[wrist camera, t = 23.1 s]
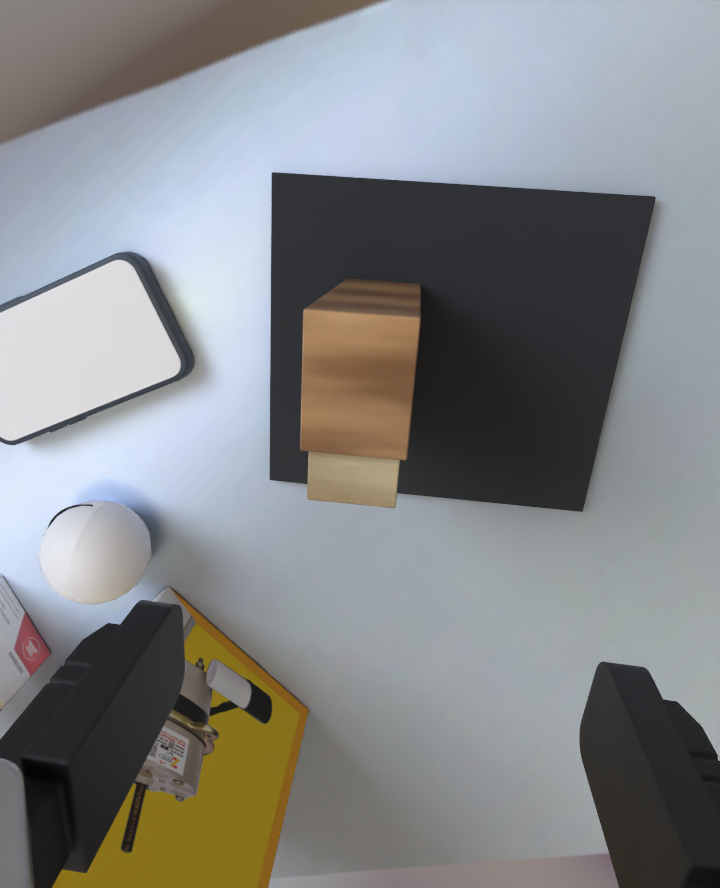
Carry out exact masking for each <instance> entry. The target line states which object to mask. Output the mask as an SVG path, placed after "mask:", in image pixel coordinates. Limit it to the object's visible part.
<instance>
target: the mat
mask: <svg viewBox="0 0 720 888" xmlns="http://www.w3.org/2000/svg"><path fill="white" fill-rule="evenodd" d="M654 203H655V197H651V196H635V195H619V194H604V193H588V192H572V191H556V190H541V189H525V188H509V187H494V186H478V185H462V184H446V183H431V182H415V181H399V180H383V179H368V178H352V177H336V176H321V175H305V174H289V173H272V233H271V377H270V480H276V481H286V482H296V483H306V484H308V452H309V451H301V450H300V432H301V390H302V347H303V311H304V309H305V308H307V307H308V306H309V305H311V304H312V303H314V302H315V301H316V300H318V299H319V298H321V297H322V296H323V295H325V294H326V293H328V292H329V291H330V290H332V289H333V288H335V287H336V286H337V285H339V284H340V283H342V282H343V281H344V280H346V279H362V280H376V281H390V282H404V283H418V284H421V323H420V333H419V343H418V354H417V364H416V374H415V384H414V394H413V404H412V415H411V425H410V435H409V445H408V455H407V460H400V464H399V475H398V486H397V493H404V494H414V495H424V496H433V497H443V498H453V499H463V500H473V501H482V502H492V503H502V504H512V505H522V506H532V507H541V508H551V509H561V510H571V511H581V512H582V511H583V507H584V503H585V499H586V494H587V490H588V486H589V481H590V477H591V473H592V468H593V464H594V460H595V456H596V451H597V447H598V443H599V438H600V434H601V430H602V426H603V421H604V417H605V413H606V408H607V404H608V400H609V396H610V391H611V387H612V383H613V378H614V374H615V370H616V366H617V361H618V357H619V353H620V348H621V344H622V340H623V336H624V331H625V327H626V323H627V318H628V314H629V310H630V305H631V301H632V297H633V293H634V288H635V284H636V280H637V275H638V271H639V267H640V263H641V258H642V254H643V250H644V245H645V241H646V237H647V233H648V228H649V224H650V220H651V215H652V211H653V207H654Z"/></svg>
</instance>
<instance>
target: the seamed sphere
mask: <svg viewBox="0 0 720 888" xmlns="http://www.w3.org/2000/svg"><path fill="white" fill-rule="evenodd" d="M151 554H152V553H151V542H150V534H149V531H148V529H147V527H146V525H145V523H144V522H143V521H142V519H141V518H140V517H139V516H138V515H137V514H136V513H135V512H134V511H132V510H131V509H129V508H128V507H127V506H124V505H122V504H119V503H116V502H112V501H93V500H92V501H88V502H84V503H79V504H77V505H74V506H71V507H68V508H66V509H64V510H62V511H60V512H59V513H58V514H57V515H56V516H54V518H53V519H52V520H51V522H50V524H49V526H48V528H47V531H46V532H45V534H44V535H43V538H42V543H41V548H40V553H39V563H40V569H41V571H42V573H43V575H44V577H45V579H46V581H47V583H48V584H49V585H50V587H51V588H52V589H53V590H54V591H55V592H56V593H58V594H59V595H61V596H62V597H64V598H67V599H69V600H72V601H75V602H78V603H82V604H92V605H93V604H98V603H104V602H108V601H111V600H115V599H117V598H119V597H121V596H122V595H124V594H126V593H127V592H128V591H130V590H131V589H132V588H133V587H134V586H136V585H137V583H138V582H139V581H140V579H141V578H142V577H143V576H144V574H145V572H146V569H147V567H148V565H149V561H150V558H151Z"/></svg>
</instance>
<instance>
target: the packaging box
mask: <svg viewBox="0 0 720 888" xmlns="http://www.w3.org/2000/svg"><path fill="white" fill-rule="evenodd" d="M151 601H155V602H162V603H170V604H178V605H180V606H181V608H182V613H183V630H184V650H185V675H184V681H183V685H182V688H181V692H180V694H179V697H178V699H177V701H176V703H175V705H174V707H173V709H172V711H171V713H170V715H169V717H168V718H167V720H166V722H165V724H164V726H163V728H162V730H161V732H160V734H159V736H158V738H157V739H156V741H155V743H154V745H153V747H152V749H151V751H150V753H149V755H148V757H147V759H146V760H145V762H144V764H143V766H142V768H141V770H140V772H139V774H138V776H137V778H136V780H135V781H134V783H133V785H132V787H131V789H130V791H129V793H128V795H127V797H126V799H125V801H124V802H123V804H122V806H121V808H120V810H119V812H118V814H117V816H116V818H115V820H114V822H113V823H112V825H111V827H110V829H109V831H108V833H107V835H106V837H105V839H104V841H103V843H102V844H101V846H100V848H99V850H98V852H97V854H96V856H95V858H94V860H93V862H92V864H91V866H90V867H89V869H88V871H87V873H81V872H75V871H69V870H63V869H62V871H61V872H60V874H59V876H58V878H57V879H56V881H55V883H54V885H53V887H52V888H268V885H269V880H270V876H271V872H272V868H273V863H274V859H275V855H276V850H277V846H278V842H279V837H280V833H281V829H282V824H283V820H284V816H285V811H286V807H287V803H288V798H289V794H290V790H291V785H292V781H293V777H294V772H295V768H296V764H297V759H298V755H299V751H300V746H301V742H302V738H303V733H304V729H305V724H306V720H307V716H308V711H309V710H308V709H307V708H306V707H305V706H304V705H303V704H302V703H300V702H299V701H298V700H297V699H296V698H295V697H294V696H293V695H291V694H290V693H289V692H288V691H287V690H286V689H285V688H283V687H282V686H281V685H280V684H279V683H278V682H277V681H276V680H274V679H273V678H272V677H271V676H270V675H269V674H268V673H266V672H265V671H264V670H263V669H262V668H261V667H260V666H258V665H257V664H256V663H255V662H254V661H253V660H252V659H251V658H249V657H248V656H247V655H246V654H245V653H244V652H243V651H241V650H240V649H239V648H238V647H237V646H236V645H235V644H234V643H232V642H231V641H230V640H229V639H228V638H227V637H226V636H224V635H223V634H222V633H221V632H220V631H219V630H218V629H216V628H215V627H214V626H213V625H212V624H211V623H210V622H209V621H207V620H206V619H205V618H204V617H203V616H202V615H201V614H199V613H198V612H197V611H196V610H195V609H194V608H193V607H192V606H190V605H189V604H188V603H187V602H186V601H185V600H184V599H182V598H181V597H180V596H179V595H178V594H177V593H176V592H175V591H173V590H172V589H171V588H170V587H167V588H165V589H164V590H163V591H162V592H161V593H160V594H158V595H157V596H156V597H155V598H154V599H153V600H151Z"/></svg>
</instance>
